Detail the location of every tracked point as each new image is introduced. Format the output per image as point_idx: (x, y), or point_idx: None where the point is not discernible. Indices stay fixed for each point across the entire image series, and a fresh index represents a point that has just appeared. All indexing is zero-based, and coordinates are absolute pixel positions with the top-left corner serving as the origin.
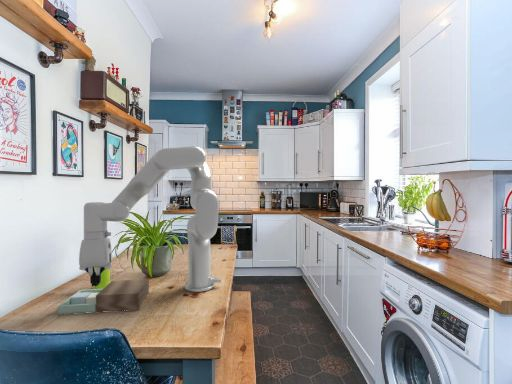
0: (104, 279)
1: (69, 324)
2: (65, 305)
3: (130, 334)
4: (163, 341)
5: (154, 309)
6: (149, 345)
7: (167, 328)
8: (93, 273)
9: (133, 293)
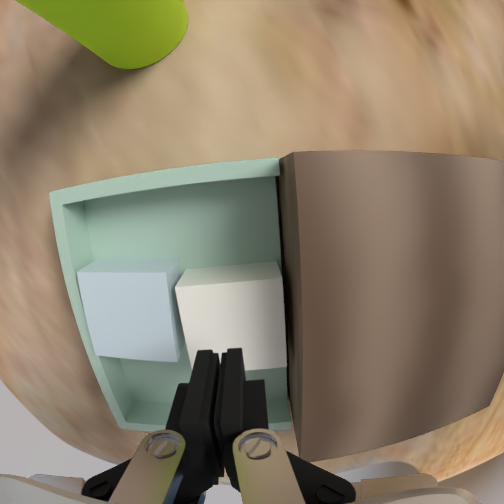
0: (145, 18)
1: None
2: (145, 427)
3: (421, 469)
4: (468, 464)
5: None
6: (446, 478)
7: (487, 431)
8: (207, 486)
9: (472, 413)
